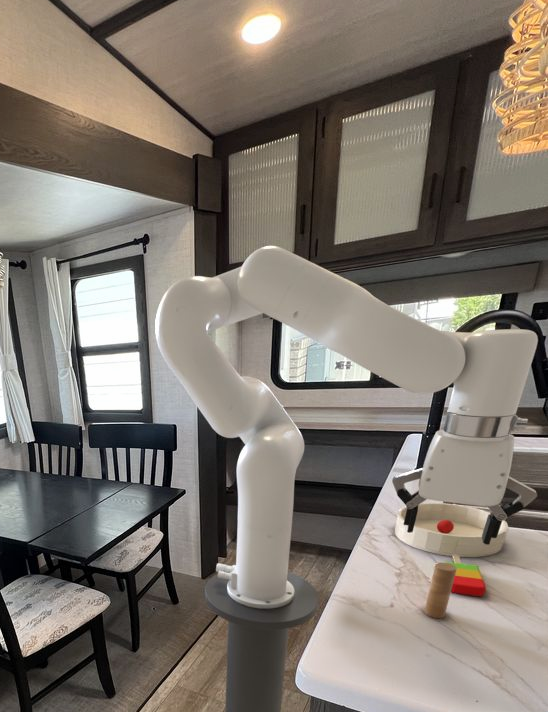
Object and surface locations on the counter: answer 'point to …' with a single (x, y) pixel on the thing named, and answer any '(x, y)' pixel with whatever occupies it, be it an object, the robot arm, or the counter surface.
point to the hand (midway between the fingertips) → (446, 535)
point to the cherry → (445, 526)
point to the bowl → (460, 539)
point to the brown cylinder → (440, 590)
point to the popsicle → (467, 579)
